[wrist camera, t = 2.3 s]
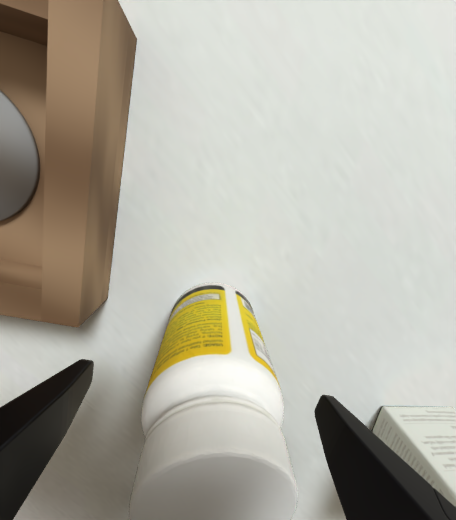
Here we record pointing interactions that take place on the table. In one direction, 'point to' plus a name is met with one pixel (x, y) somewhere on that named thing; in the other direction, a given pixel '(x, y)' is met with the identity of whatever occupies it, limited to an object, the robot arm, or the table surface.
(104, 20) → the holder
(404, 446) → the skincare box
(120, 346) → the table surface
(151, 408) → the supplement bottle
